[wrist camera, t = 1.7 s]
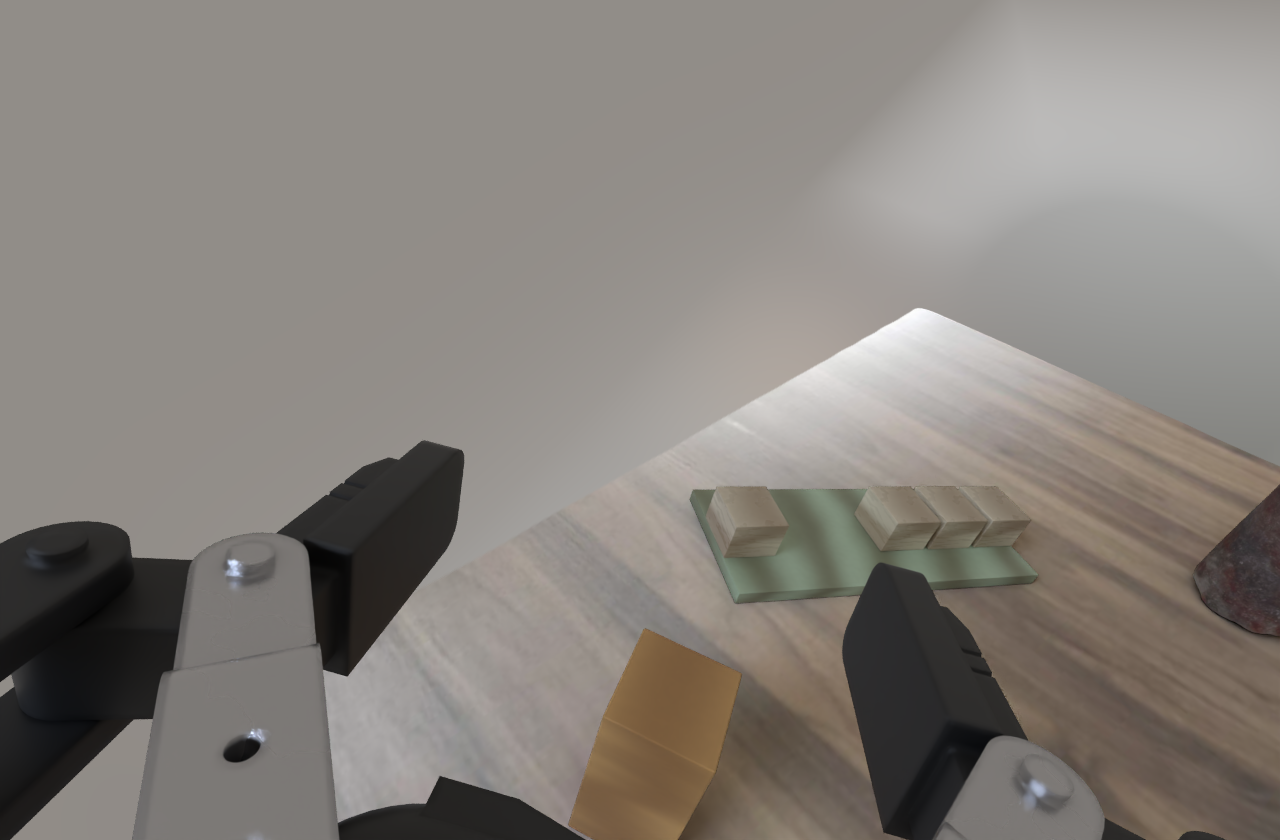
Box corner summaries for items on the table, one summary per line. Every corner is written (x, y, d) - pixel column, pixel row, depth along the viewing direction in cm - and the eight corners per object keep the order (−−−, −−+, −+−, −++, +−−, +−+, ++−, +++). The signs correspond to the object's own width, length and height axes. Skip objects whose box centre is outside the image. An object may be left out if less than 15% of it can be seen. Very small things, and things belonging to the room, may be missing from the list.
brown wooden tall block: (567, 826, 27) (602, 716, 22) (606, 738, 30) (644, 627, 26) (658, 876, 26) (715, 773, 21) (687, 779, 30) (742, 672, 25)
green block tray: (735, 603, 39) (754, 562, 37) (689, 499, 47) (702, 459, 45) (1031, 583, 48) (1061, 548, 45) (951, 496, 55) (973, 463, 53)
